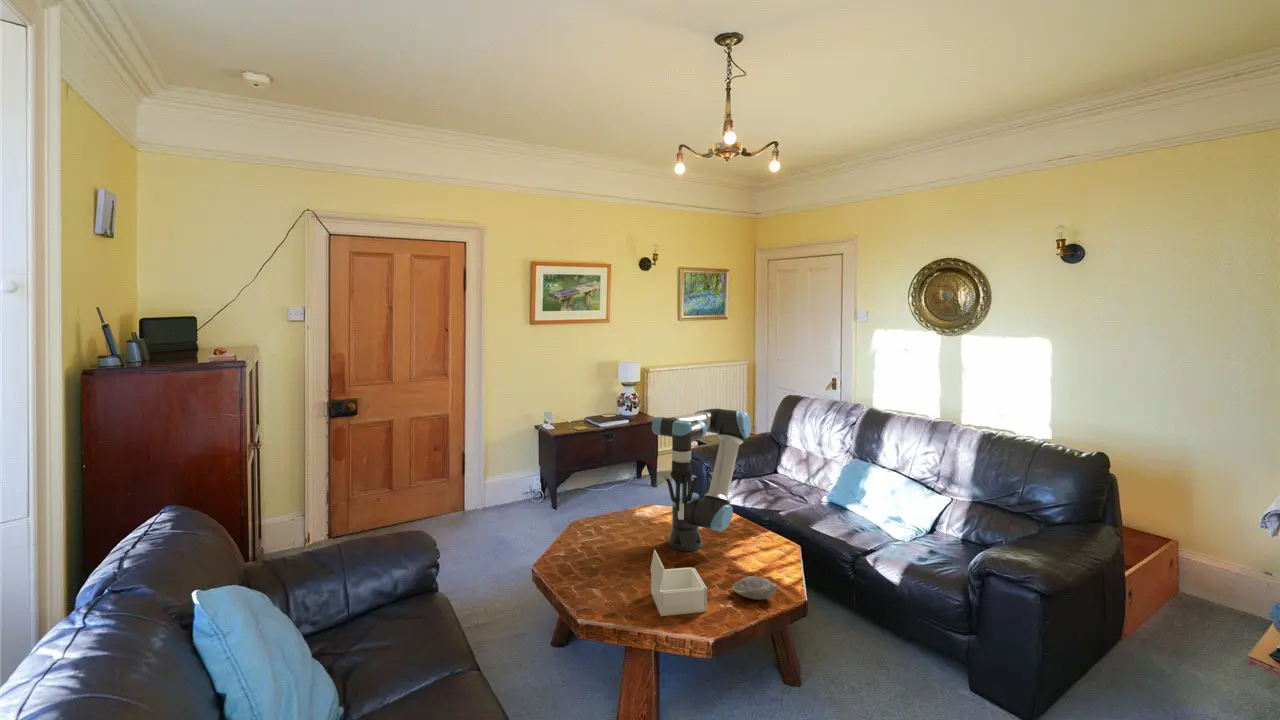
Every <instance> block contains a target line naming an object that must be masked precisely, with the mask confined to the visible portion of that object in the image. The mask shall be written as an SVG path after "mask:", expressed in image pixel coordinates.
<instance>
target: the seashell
mask: <svg viewBox="0 0 1280 720" xmlns="http://www.w3.org/2000/svg"><path fill="white" fill-rule="evenodd" d="M731 588H732V590H733V591H734V592H735V593H737V595H739V596H742V597H745V598H747V599H751V600H766V599H770V598H771V597H773V596H774V595H775V594H776V591H777V589H778V586H777V584H776V583H774V582H771V581H770V580H769V579H767V578H765V577H761V576H749V575H748V576H744V577H743V578H741V579H740V580H738V581H735V582H734V585H732V587H731Z"/></svg>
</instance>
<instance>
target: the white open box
mask: <svg viewBox="0 0 1280 720" xmlns="http://www.w3.org/2000/svg"><path fill="white" fill-rule="evenodd" d="M650 574H651V578H650V579H651V583H650V584H651V588H650V589H651V591H650V594H651V596H652V599H653V601H654V604H655V607H656V608H657V611H658V613H659V616H660V617H665V616H668V617H669V616H676V615H679V616H680V615H688V614H698V613H705V610H707V603H708V602H707V598H708V597H707V596H708V594H707V593H708V592H707V591H708V590H707V589H708V587H707V586H706V584H705V583H704V581H703V579H702V577H701V576H700V574H699V572H698V571H697V569H696V567H679V568H668V569H667V568H666V569H665V568H664V573H663V579H662V584H661V589H660V590H659V589H658V586H657V584H656V582H655V580H654V577H653V575H652V573H651V572H650Z"/></svg>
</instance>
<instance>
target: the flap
mask: <svg viewBox="0 0 1280 720" xmlns="http://www.w3.org/2000/svg"><path fill="white" fill-rule="evenodd" d="M664 569H665V567H664V565H663V563H662V561H661V559H660V557H659V554H658V553H657V551H656V549H654V550H653V554H652V559H651V564H650V574H651V573H652V575H653V577H654V580H655V582H656V584H657V586H658V589H659V590H660V589H661V584H662V579H663V573H664Z"/></svg>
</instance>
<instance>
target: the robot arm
mask: <svg viewBox="0 0 1280 720" xmlns="http://www.w3.org/2000/svg"><path fill="white" fill-rule="evenodd" d="M751 422H752V421H751V418H750V415H749V414H748V413H747V412H745V411H741V410H733V409H724V408H722V409H721V408H709V409H703V410H697V411H696V412H694V413H692V414H691V413H690V414H685V415H683V414H682V415H677V416H672V417H671V416H670V417H663V416H659V417H658V416H656V417H655V418H654V419H653V420H652V423H651V431H652V432H653V434H654V435H656V436H657V435H658V436H661V437H663V436H664V437H670V438H672V439H671V442H672V444H671V445H672V446H671V447H672V448H671V451H672V452H671V459H672V461H671V472H670V475H669V476H666V477H665V478H664V480H665V481H666V483H667V488H668V492H669V497H670V500H671V502H672V503H671V504H672V505H671V507H672V511H671V513H672V523H671V525H672V527H671V531H670V534H669V537H668V540H667V542H668V543H667V545H668V546H669V548H671V549H673V550H675V551H679V552H693V551H697V550H699V549H701V548H702V546H703V540H702V537H701V534H700V533H701V532H700V529H699V527H700V528H704V529H708V530H712V531H718V532H723V531H725V530H727V528H728V527H729V525H730V524H731V522H732V519H733V514H734V513H733V512H734V509H733V506H731V505H730V504H731V501H730V499H729V494H730V489H731V484H732V480H733V474H734V471H735V466H736V461H737V457H738V451H739V448H740V446H741V445H742V444H743V443H744V440H745V439H748V438H749V437H750V435H751V431H752V423H751ZM707 432H708V433H712V434H718V435H717V436H718V438H719V440H720V441H719V445H718V451H717V455H716V459H715V462H714V469H713V472H712V475H711V476H712V477H711V480H710V484H709V489H708V492H707V493H705V494H704V495H703V498H702V499H701V498H700V496H699V494H698V493H696V492H694V491H695V485H696V483H697V481H698V476H696V475H694V474H693V473H692V461H691V460H692V443H693V442H695V441H698V440H701V439H702V438H704V437H705V436H706V434H707ZM672 481H674V483H675V492H674V488H673V485H672ZM689 481H690V482H689ZM688 482H689V487H688ZM687 487H688V488H687ZM681 488H682V489H681ZM681 490H682V491H681Z"/></svg>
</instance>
